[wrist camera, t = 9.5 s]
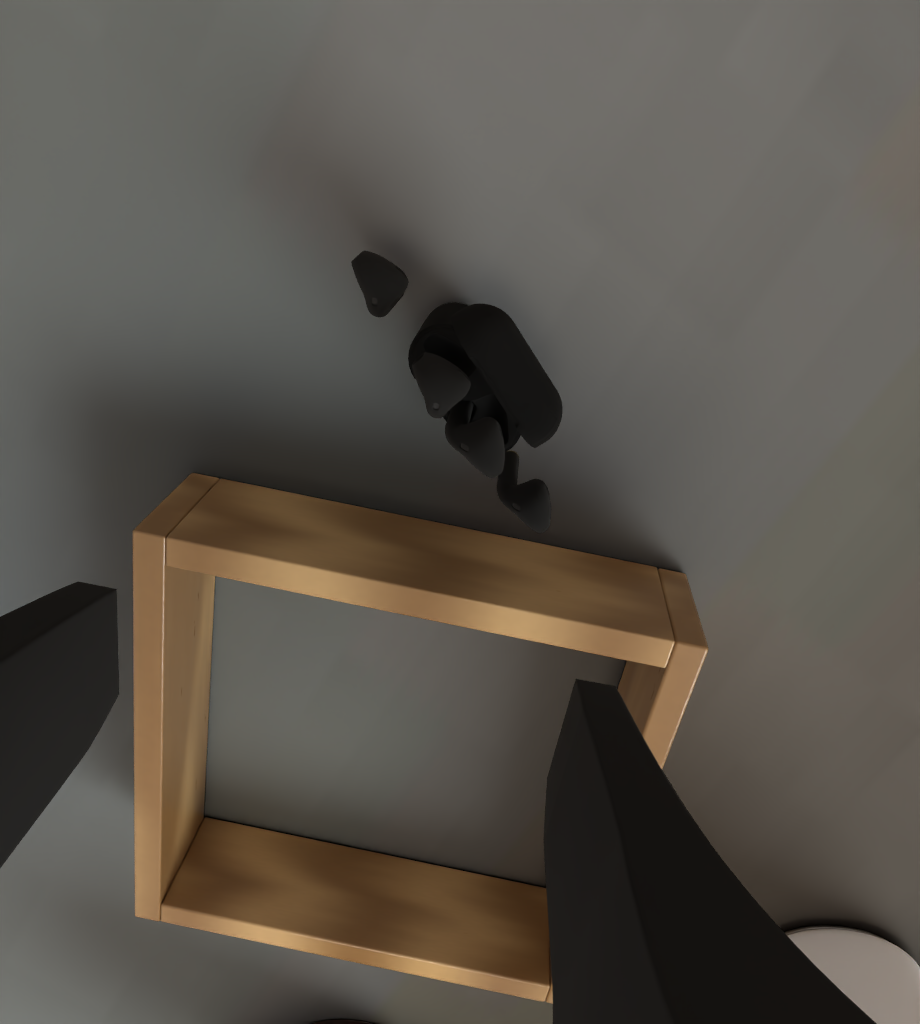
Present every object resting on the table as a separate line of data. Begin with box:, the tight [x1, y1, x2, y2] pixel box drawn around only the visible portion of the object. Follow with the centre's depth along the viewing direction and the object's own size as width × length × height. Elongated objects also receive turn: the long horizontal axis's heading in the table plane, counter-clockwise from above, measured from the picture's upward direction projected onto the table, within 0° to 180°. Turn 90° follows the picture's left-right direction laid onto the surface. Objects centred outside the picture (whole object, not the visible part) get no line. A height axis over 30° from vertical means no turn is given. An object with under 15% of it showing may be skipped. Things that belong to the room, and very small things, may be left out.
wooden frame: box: [133, 473, 708, 1004], centre depth 23 cm, size 14×14×4 cm
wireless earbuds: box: [351, 251, 562, 533], centre depth 17 cm, size 7×2×5 cm, turn 34°
